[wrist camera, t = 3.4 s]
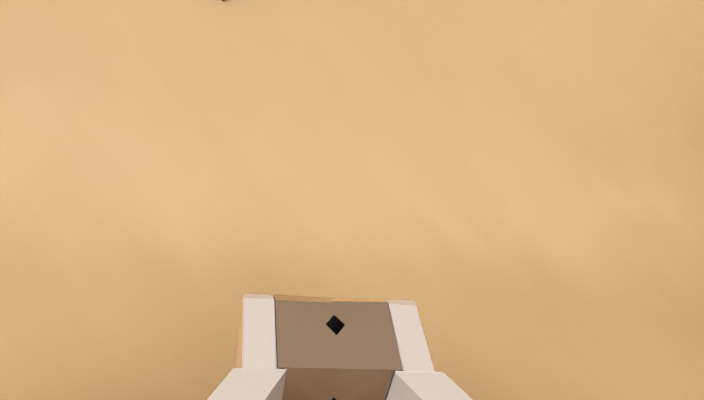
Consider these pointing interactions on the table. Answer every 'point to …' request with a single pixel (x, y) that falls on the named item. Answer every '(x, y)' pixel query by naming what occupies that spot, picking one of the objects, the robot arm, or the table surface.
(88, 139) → the table surface
